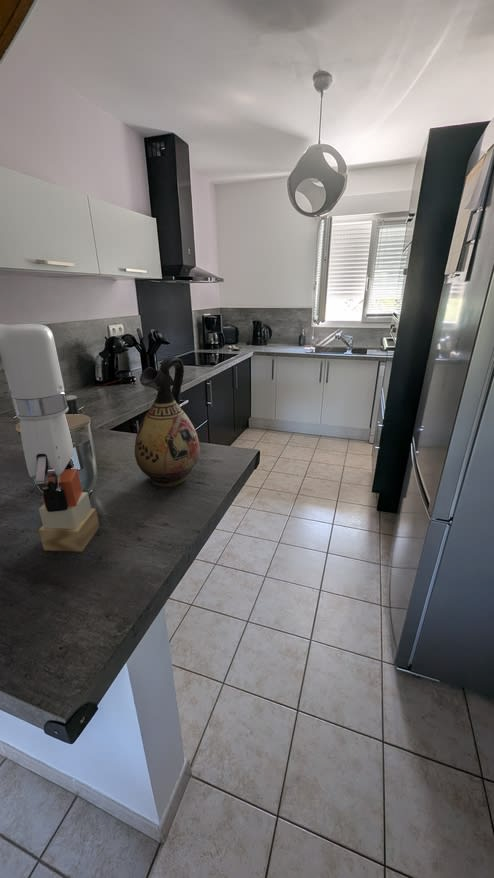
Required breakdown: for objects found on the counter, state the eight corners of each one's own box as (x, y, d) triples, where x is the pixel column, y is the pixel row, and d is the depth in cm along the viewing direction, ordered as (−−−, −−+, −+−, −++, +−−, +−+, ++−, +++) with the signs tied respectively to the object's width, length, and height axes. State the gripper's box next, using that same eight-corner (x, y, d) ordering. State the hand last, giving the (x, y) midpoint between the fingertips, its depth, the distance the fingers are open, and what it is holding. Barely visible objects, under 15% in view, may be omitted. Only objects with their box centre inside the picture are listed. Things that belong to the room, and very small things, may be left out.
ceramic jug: (174, 501, 80) (161, 367, 68) (125, 484, 87) (106, 360, 75) (216, 470, 93) (212, 354, 82) (171, 457, 100) (161, 350, 89)
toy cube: (45, 509, 62) (39, 484, 60) (53, 494, 66) (48, 470, 64) (76, 506, 63) (70, 481, 61) (82, 491, 67) (77, 468, 65)
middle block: (43, 528, 63) (38, 509, 62) (61, 509, 69) (57, 491, 67) (76, 529, 63) (71, 510, 62) (91, 510, 69) (87, 492, 67)
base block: (43, 550, 65) (38, 530, 63) (64, 526, 71) (60, 507, 70) (82, 551, 64) (77, 531, 63) (99, 527, 71) (96, 508, 69)
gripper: (34, 392, 65) (55, 478, 72) (-9, 424, 49) (23, 530, 56) (78, 389, 66) (94, 474, 73) (50, 420, 50) (74, 524, 57)
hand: (63, 498), depth 64 cm, fingers open, 6 cm apart
